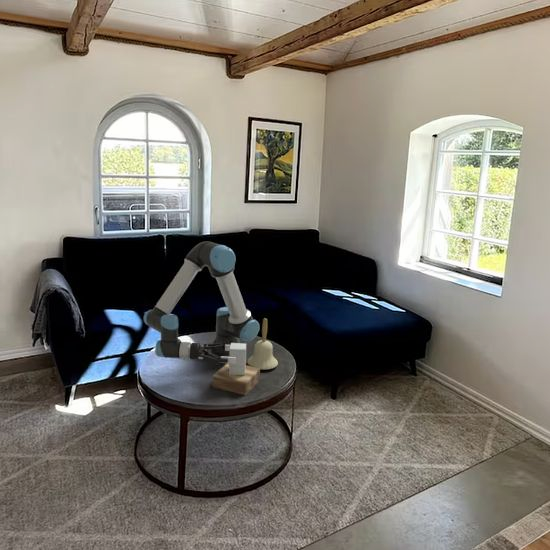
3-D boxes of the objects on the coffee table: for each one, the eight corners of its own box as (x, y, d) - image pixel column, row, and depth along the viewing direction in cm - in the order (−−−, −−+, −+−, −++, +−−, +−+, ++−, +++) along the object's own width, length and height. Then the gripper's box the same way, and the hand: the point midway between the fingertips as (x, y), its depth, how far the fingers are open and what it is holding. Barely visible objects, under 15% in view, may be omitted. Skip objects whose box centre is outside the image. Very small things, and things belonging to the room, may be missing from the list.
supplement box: (245, 368, 228) (246, 343, 225) (244, 375, 221) (246, 349, 218) (229, 367, 228) (230, 342, 225) (228, 375, 220) (229, 348, 217)
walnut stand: (228, 373, 236) (229, 361, 234) (259, 380, 230) (260, 368, 229) (212, 387, 221) (213, 375, 220) (245, 395, 216) (246, 382, 214)
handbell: (264, 375, 236) (267, 326, 230) (240, 365, 245) (243, 318, 239) (283, 365, 248) (287, 318, 242) (260, 356, 257) (263, 311, 251)
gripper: (195, 348, 235) (240, 351, 235) (184, 370, 211) (233, 374, 211) (196, 333, 234) (240, 336, 233) (184, 354, 209) (234, 357, 209)
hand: (237, 354), depth 222 cm, fingers open, 13 cm apart
